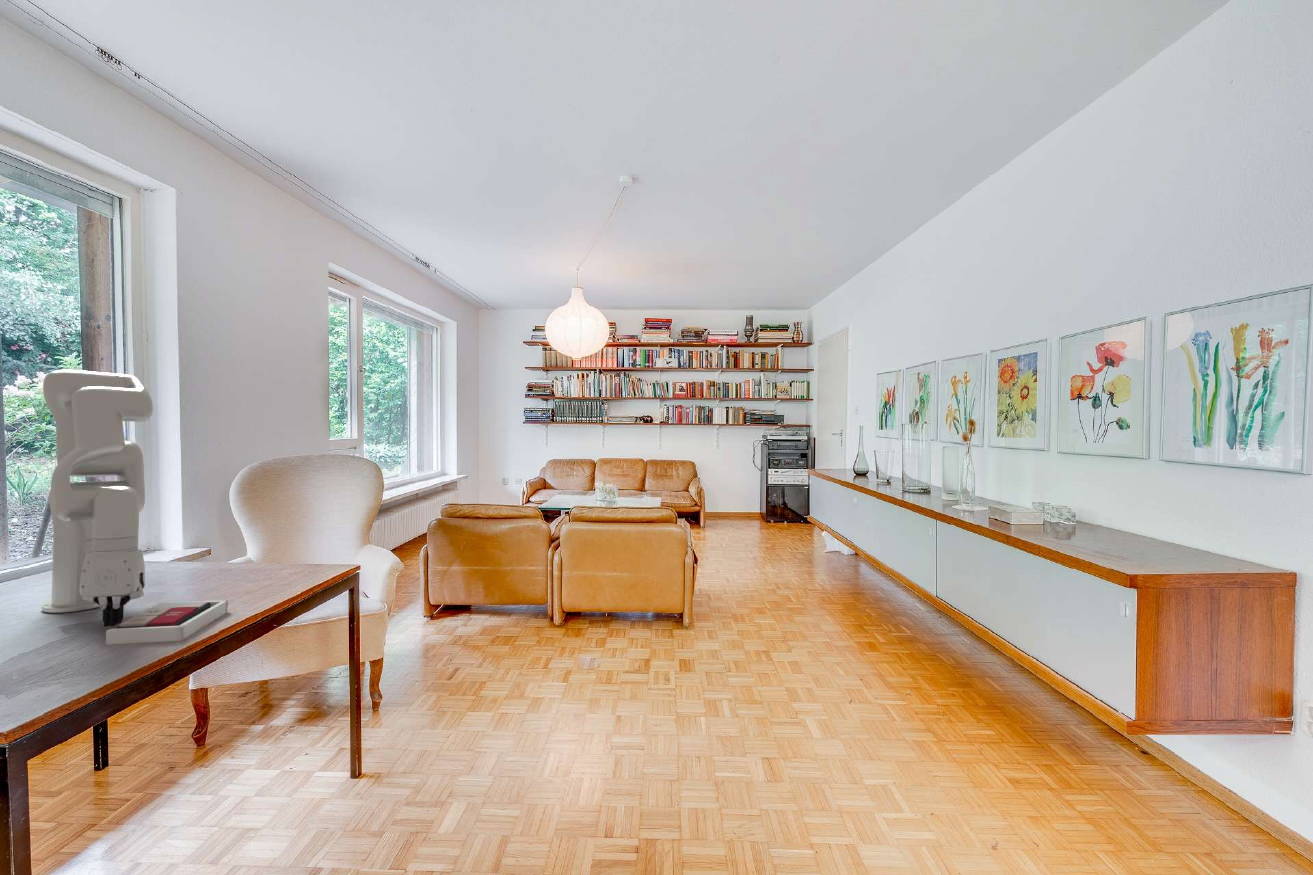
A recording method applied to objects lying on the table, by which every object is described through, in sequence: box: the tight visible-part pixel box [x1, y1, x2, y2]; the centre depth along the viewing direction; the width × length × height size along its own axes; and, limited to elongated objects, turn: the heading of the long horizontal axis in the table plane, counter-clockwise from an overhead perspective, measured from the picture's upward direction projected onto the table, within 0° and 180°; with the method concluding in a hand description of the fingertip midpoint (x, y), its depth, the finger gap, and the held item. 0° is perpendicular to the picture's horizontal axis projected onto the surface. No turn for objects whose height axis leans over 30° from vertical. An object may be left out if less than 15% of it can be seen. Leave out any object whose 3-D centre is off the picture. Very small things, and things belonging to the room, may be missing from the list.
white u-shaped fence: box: [105, 599, 229, 645], centre depth 128 cm, size 20×14×3 cm
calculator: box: [115, 601, 210, 629], centre depth 128 cm, size 11×4×15 cm
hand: (112, 624), depth 125 cm, fingers closed
